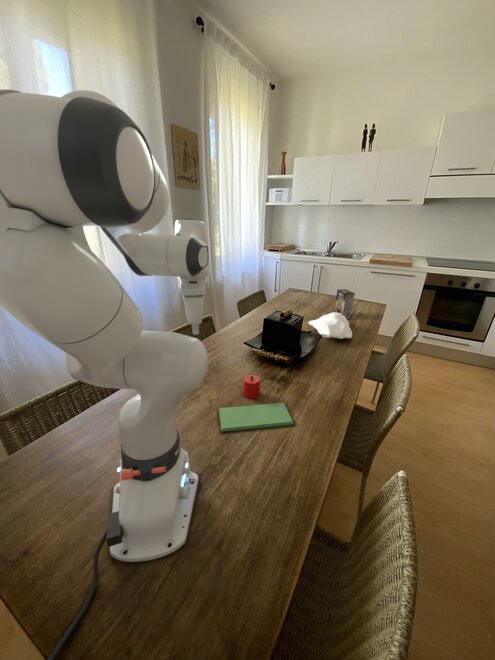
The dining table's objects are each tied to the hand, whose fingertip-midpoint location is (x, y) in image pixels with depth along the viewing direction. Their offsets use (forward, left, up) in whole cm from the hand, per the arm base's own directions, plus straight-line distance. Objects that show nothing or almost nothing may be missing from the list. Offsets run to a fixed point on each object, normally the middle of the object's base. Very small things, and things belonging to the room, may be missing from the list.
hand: (195, 327), depth 83 cm
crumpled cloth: (+49, -69, -27) cm, 89 cm away
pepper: (+2, -18, -27) cm, 33 cm away
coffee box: (+73, -88, -27) cm, 117 cm away
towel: (-10, -17, -27) cm, 33 cm away
